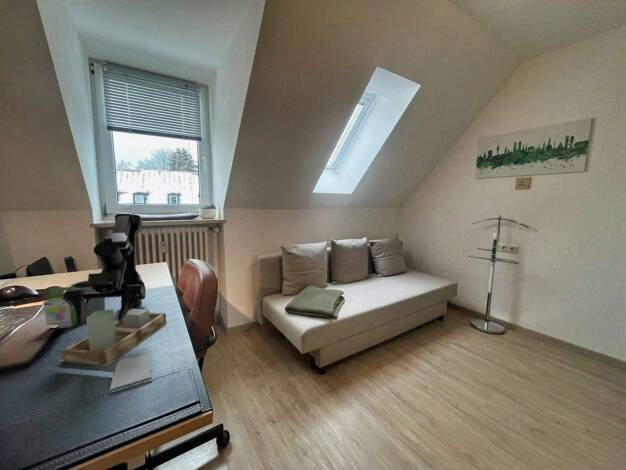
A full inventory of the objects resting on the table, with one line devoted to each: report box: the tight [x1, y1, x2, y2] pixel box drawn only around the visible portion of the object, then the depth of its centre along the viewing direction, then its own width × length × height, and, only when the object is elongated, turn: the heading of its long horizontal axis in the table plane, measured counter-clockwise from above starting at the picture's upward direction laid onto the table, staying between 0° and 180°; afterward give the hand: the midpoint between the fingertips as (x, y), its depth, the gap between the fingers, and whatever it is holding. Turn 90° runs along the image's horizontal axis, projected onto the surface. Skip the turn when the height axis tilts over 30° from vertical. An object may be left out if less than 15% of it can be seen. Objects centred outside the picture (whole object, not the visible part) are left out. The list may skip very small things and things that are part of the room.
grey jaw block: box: [123, 308, 150, 329], centre depth 83 cm, size 4×6×6 cm, turn 84°
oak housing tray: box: [59, 311, 169, 366], centre depth 78 cm, size 24×14×4 cm, turn 174°
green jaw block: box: [85, 309, 116, 352], centre depth 71 cm, size 4×4×11 cm
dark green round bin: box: [69, 280, 106, 319], centre depth 96 cm, size 10×10×12 cm
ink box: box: [42, 286, 78, 329], centre depth 86 cm, size 7×4×13 cm, turn 105°
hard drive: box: [109, 354, 153, 393], centre depth 64 cm, size 2×8×12 cm
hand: (99, 323), depth 70 cm, fingers open, 9 cm apart
